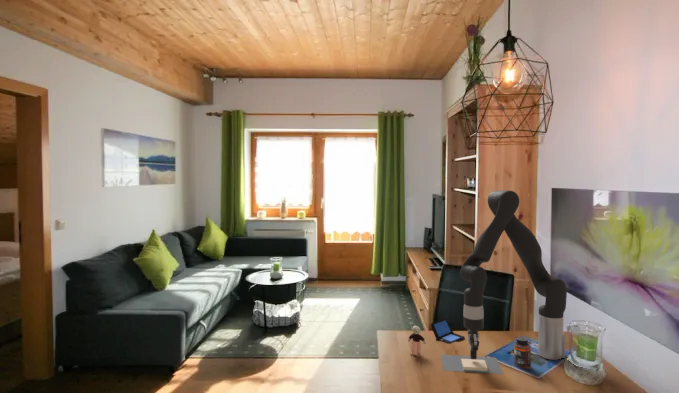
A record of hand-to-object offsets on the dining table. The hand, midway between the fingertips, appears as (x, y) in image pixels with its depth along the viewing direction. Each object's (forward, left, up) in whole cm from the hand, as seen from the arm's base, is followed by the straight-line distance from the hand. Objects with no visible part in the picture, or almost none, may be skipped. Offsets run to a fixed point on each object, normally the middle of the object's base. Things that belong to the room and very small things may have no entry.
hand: (473, 358), depth 164 cm
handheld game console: (+8, -28, -4) cm, 29 cm away
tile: (0, -2, -2) cm, 3 cm away
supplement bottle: (-19, -3, -4) cm, 20 cm away
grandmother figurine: (+22, -8, -4) cm, 24 cm away
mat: (+1, -1, -4) cm, 4 cm away
